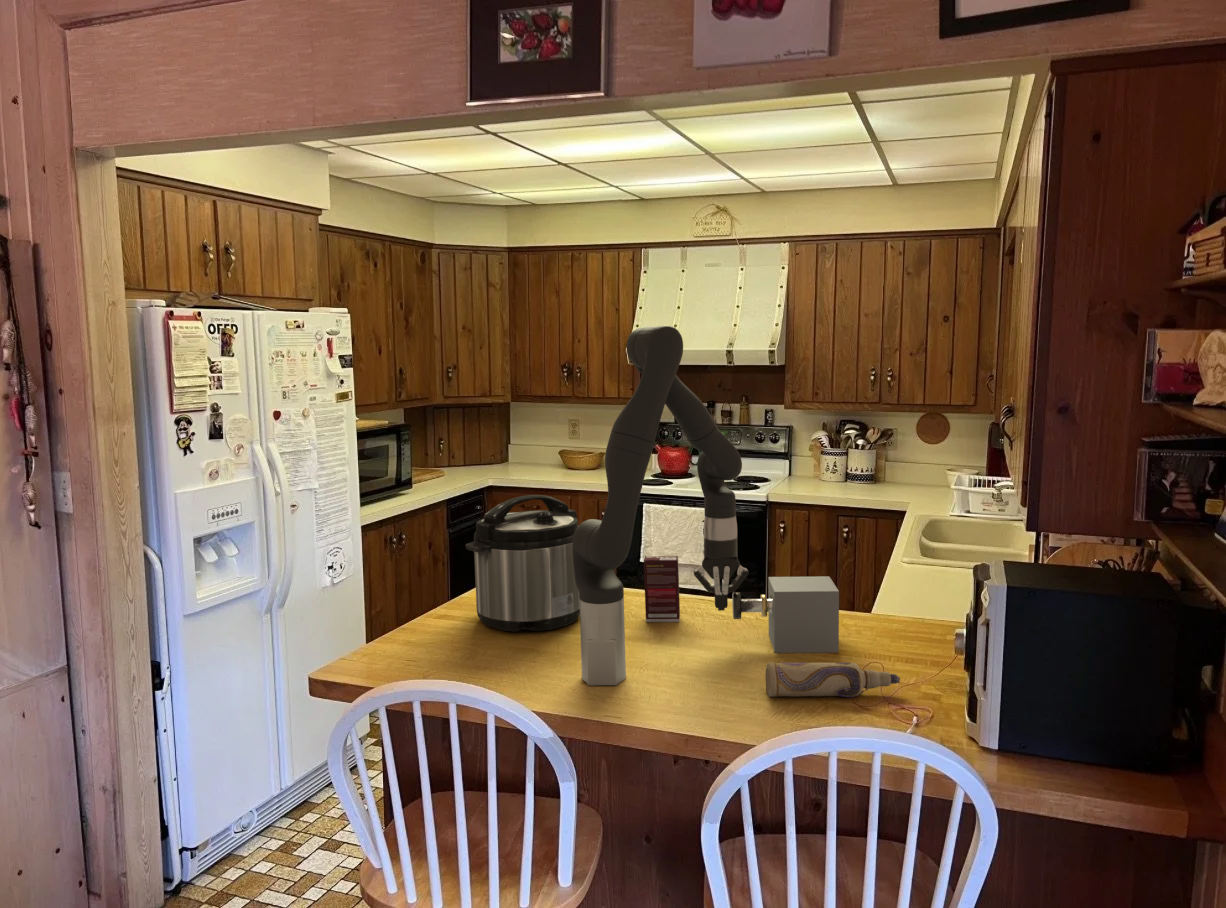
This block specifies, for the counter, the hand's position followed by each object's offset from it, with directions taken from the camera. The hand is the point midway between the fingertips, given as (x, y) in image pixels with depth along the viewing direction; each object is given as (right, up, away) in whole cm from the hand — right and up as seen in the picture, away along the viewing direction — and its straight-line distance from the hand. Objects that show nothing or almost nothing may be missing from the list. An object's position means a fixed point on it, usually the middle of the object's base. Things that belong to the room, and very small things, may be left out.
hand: (721, 609), depth 204 cm
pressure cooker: (-46, -7, +24) cm, 52 cm away
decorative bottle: (+17, -12, -30) cm, 36 cm away
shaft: (+13, -2, -1) cm, 13 cm away
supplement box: (-12, -6, +20) cm, 24 cm away
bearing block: (+19, -8, 0) cm, 20 cm away
